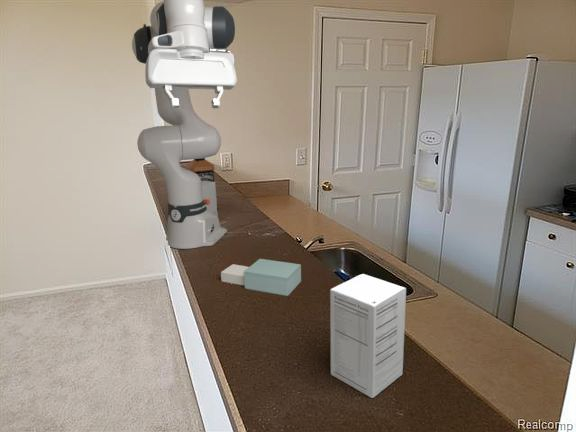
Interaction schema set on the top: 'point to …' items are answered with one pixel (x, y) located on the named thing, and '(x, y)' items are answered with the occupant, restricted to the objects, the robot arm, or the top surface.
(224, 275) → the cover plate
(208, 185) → the skincare box
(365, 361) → the supplement box
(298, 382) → the top surface
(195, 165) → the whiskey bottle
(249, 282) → the case
